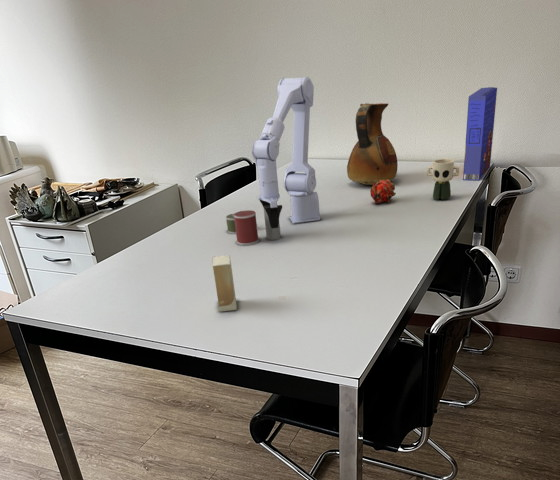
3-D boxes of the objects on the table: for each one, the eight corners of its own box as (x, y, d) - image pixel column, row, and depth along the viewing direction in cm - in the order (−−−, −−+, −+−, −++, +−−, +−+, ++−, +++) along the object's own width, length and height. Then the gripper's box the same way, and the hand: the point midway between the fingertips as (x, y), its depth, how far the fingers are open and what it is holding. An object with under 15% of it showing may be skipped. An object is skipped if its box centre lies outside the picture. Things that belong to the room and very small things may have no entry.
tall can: (257, 236, 193) (254, 209, 189) (260, 243, 187) (257, 215, 183) (236, 239, 192) (232, 212, 188) (238, 246, 186) (234, 218, 182)
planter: (279, 239, 188) (276, 207, 183) (265, 240, 189) (261, 208, 184) (281, 235, 192) (279, 203, 187) (268, 235, 193) (265, 203, 188)
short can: (245, 226, 204) (244, 211, 201) (248, 231, 198) (246, 217, 196) (226, 229, 203) (224, 214, 201) (228, 234, 198) (226, 219, 195)
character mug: (424, 201, 210) (425, 163, 204) (428, 195, 216) (429, 158, 209) (455, 201, 206) (457, 163, 199) (459, 196, 212) (461, 158, 205)
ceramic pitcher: (405, 178, 240) (406, 97, 225) (384, 191, 226) (385, 106, 211) (361, 176, 250) (359, 98, 235) (339, 188, 236) (336, 107, 220)
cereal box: (475, 166, 246) (481, 87, 231) (490, 167, 243) (497, 86, 228) (463, 180, 230) (468, 95, 215) (478, 180, 227) (485, 95, 212)
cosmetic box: (219, 302, 151) (212, 256, 144) (236, 300, 151) (230, 254, 144) (219, 312, 145) (212, 265, 139) (237, 310, 145) (230, 263, 139)
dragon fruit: (391, 201, 219) (378, 215, 212) (373, 187, 219) (360, 201, 212) (403, 184, 212) (391, 198, 205) (384, 169, 213) (371, 183, 205)
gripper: (252, 177, 187) (257, 219, 194) (258, 188, 175) (263, 232, 182) (274, 174, 188) (278, 216, 195) (282, 185, 176) (286, 229, 183)
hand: (272, 224), depth 188 cm, fingers open, 7 cm apart
